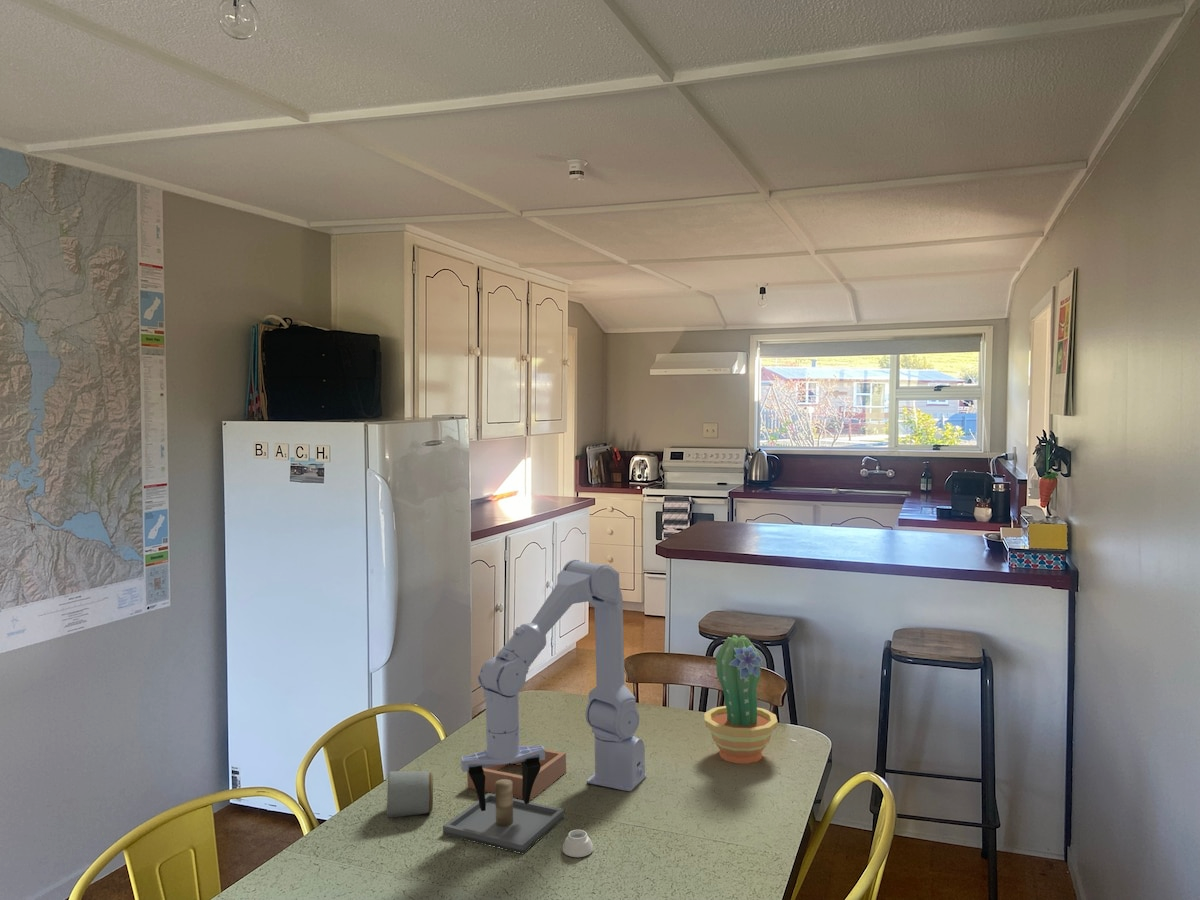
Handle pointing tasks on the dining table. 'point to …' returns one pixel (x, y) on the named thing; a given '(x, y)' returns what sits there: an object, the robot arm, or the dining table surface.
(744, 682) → the potted cactus
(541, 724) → the dining table surface
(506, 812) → the maple pin
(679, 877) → the dining table surface
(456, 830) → the slate tray
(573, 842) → the white jar
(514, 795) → the terracotta planter box
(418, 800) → the ceramic mug
